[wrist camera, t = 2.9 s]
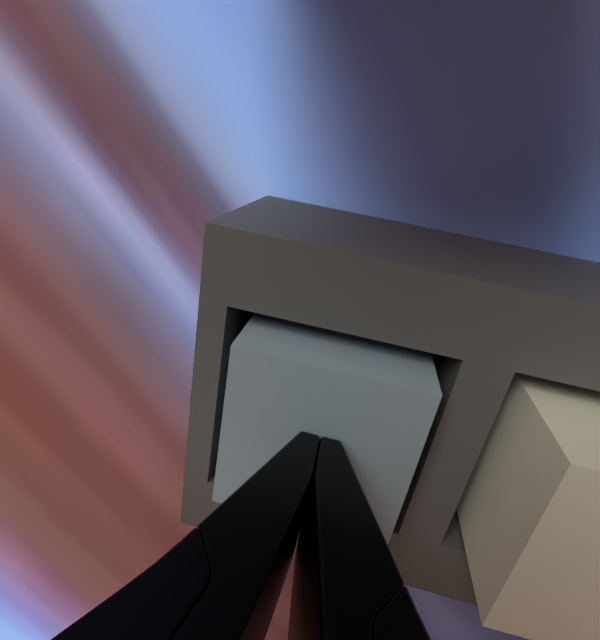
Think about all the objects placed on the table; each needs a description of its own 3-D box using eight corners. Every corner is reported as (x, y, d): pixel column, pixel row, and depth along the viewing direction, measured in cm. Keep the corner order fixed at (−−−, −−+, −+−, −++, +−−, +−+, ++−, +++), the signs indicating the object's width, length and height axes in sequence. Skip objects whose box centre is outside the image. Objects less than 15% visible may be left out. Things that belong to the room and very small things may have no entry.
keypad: (915, 327, 11) (1287, 452, 7) (738, 540, 14) (908, 724, 10) (267, 195, 13) (205, 222, 8) (237, 414, 16) (180, 522, 11)
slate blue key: (425, 330, 10) (441, 395, 8) (385, 457, 12) (386, 548, 9) (268, 295, 11) (230, 345, 8) (248, 422, 12) (212, 500, 10)
